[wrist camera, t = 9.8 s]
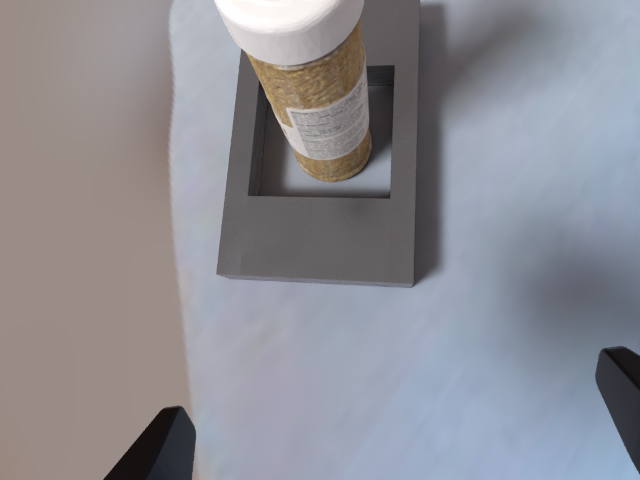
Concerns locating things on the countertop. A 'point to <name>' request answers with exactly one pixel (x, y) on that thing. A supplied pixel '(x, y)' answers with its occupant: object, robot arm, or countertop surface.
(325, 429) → the countertop surface
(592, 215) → the countertop surface
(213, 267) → the countertop surface
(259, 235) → the gray rectangular frame
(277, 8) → the sprinkles bottle
